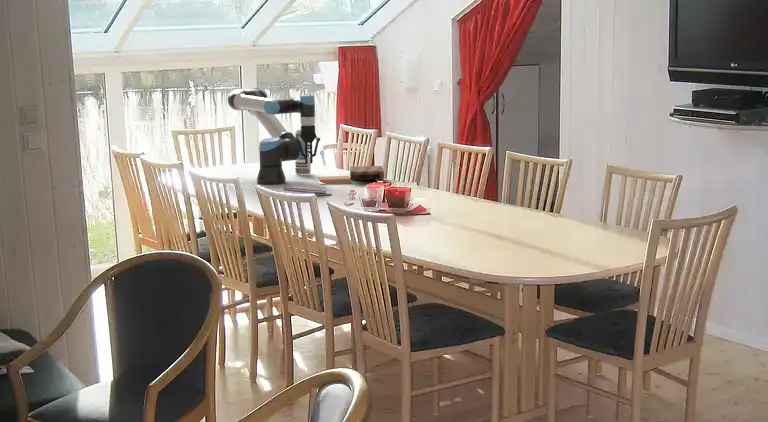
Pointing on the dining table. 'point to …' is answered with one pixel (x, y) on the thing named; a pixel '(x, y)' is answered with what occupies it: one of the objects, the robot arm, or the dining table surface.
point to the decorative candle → (302, 159)
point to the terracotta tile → (335, 180)
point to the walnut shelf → (367, 173)
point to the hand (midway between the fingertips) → (309, 169)
